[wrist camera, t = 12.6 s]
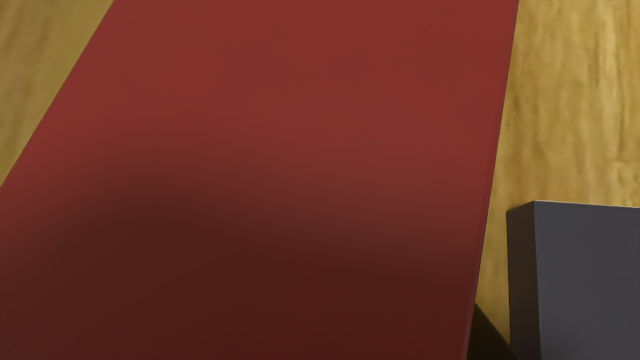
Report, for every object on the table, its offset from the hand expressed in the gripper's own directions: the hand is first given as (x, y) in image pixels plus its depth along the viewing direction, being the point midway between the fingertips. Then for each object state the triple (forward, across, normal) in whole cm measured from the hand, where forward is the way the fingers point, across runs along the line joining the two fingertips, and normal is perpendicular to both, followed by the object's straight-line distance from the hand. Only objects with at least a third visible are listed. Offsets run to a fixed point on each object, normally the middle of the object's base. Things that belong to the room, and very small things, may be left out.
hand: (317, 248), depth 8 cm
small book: (+4, -1, +6) cm, 8 cm away
